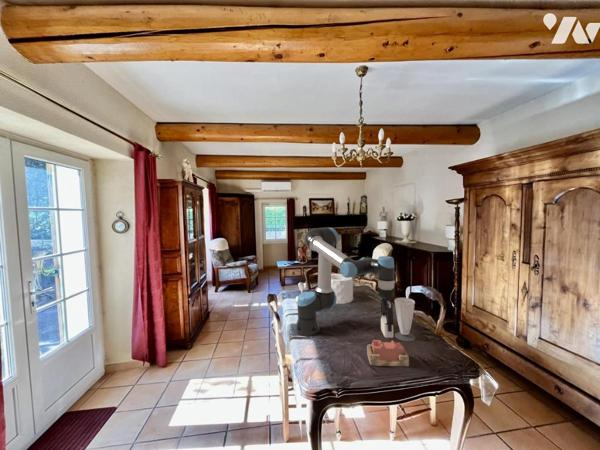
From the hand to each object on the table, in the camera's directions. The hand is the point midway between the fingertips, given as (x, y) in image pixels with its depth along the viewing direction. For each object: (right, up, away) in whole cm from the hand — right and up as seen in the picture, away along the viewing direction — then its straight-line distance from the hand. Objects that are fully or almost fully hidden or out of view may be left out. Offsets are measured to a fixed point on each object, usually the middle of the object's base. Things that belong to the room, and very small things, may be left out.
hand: (386, 332), depth 130 cm
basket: (-10, -10, +94) cm, 95 cm away
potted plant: (-40, -12, +71) cm, 82 cm away
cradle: (0, -14, +1) cm, 14 cm away
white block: (0, 0, 0) cm, 0 cm away
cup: (+19, -13, +24) cm, 33 cm away
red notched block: (0, -13, +1) cm, 13 cm away
